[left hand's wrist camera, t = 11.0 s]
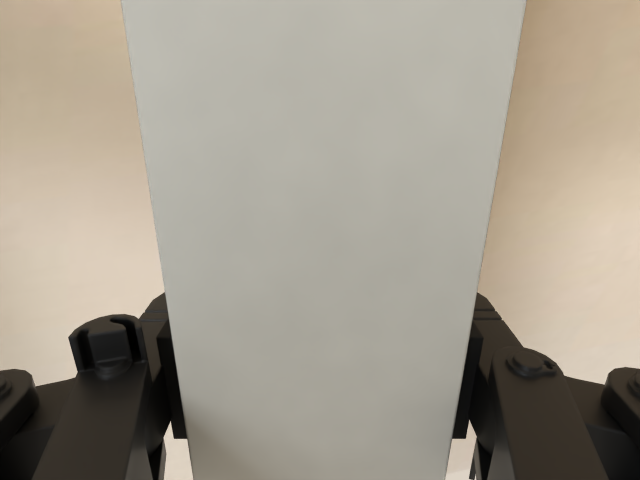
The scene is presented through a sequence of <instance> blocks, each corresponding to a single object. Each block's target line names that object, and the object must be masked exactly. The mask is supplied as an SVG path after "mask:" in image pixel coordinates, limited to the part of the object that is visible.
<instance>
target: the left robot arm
mask: <svg viewBox="0 0 640 480" xmlns="http://www.w3.org/2000/svg"><path fill="white" fill-rule="evenodd" d="M68 338H69V342H70V345H71V349H72V353H73V356H74V360H75V364H76V367H77V371H78V373H77V375H76V377H75V378H72V379H69V380H64V381H60V382H55V383H50V384H45V385H41V386H36V387H35V384H34V381H33V378H32V375H31V374H29V373H28V372H27V371H25V370H18V369H11V370H3V371H0V480H164V471H165V461H166V449H165V444H164V438H163V437H164V435H165V433H166V430H167V428H168V426H169V423H170V421H171V425H172V430H173V436H174V439H187V433H186V427H185V420H184V414H183V407H182V400H181V394H180V387H179V381H178V374H177V367H176V361H175V354H174V348H173V341H172V335H171V328H170V321H169V315H168V308H167V302H166V295H165V292H164V293H163V294H161V295H160V296H158V297H157V298H155V299H154V300H153V301H152V302H151V303H150V305H149V306H148V307H147V309H146V310H145V313H143V314H142V315H141V317H140V318H139V319H138V318H136V317H135V316H131V315H126V314H117V315H109V316H104V317H99V318H97V319H94V320H92V321H89V322H86V323H85V324H83V325H82V326H80V327H78V328H77V329H75V330H74V331H73V333H72V334H71V335H70V336H69V337H68ZM469 420H470V422H471V424H472V426H473V429H474V431H475V433H476V436H477V438H476V444H475V449H474V454H473V459H472V464H471V469H470V476H469V479H472V480H474V479H475V474H476V480H640V369H636V368H628V367H624V368H616V369H614V370H612V371H611V372H610V373H609V374H608V377H607V380H606V383H605V385H603V384H598V383H593V382H589V381H584V380H579V379H574V378H570V377H567V376H564V374H563V372H562V370H561V369H560V368H559V366H558V365H557V364H556V363H555V362H554V361H553V360H551V359H550V358H549V357H547V356H546V355H544V354H541V353H539V352H537V351H535V350H532V349H528V348H524V347H523V346H522V345H521V343H520V342H519V341H518V339H517V338H516V337H515V335H514V334H513V333H512V331H511V330H510V329H509V327H508V326H507V325H506V323H505V322H504V321H503V320H502V318H501V317H500V315H499V314H498V313H497V311H495V309H494V307H493V306H492V305H491V303H490V302H489V301H488V299H487V298H485V297H484V296H482V295H481V294H479V293H478V292H477V295H476V301H475V307H474V312H473V318H472V324H471V330H470V336H469V342H468V348H467V353H466V359H465V365H464V371H463V377H462V383H461V389H460V395H459V400H458V406H457V412H456V418H455V424H454V430H453V436H452V439H466V434H467V429H468V423H469Z"/></svg>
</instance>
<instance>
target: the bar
mask: <svg viewBox="0 0 640 480" xmlns="http://www.w3.org/2000/svg"><path fill="white" fill-rule="evenodd" d="M526 1H527V0H121V5H122V11H123V18H124V25H125V31H126V38H127V44H128V51H129V58H130V64H131V71H132V77H133V84H134V91H135V97H136V104H137V110H138V117H139V124H140V130H141V137H142V143H143V150H144V156H145V163H146V170H147V176H148V183H149V189H150V196H151V203H152V209H153V216H154V222H155V229H156V236H157V242H158V249H159V255H160V262H161V269H162V275H163V282H164V288H165V295H166V302H167V308H168V315H169V321H170V328H171V335H172V341H173V348H174V354H175V361H176V367H177V374H178V381H179V387H180V394H181V400H182V407H183V414H184V420H185V427H186V433H187V440H188V447H189V453H190V460H191V466H192V473H193V480H445V477H446V471H447V465H448V459H449V453H450V447H451V441H452V436H453V430H454V424H455V418H456V412H457V406H458V400H459V395H460V389H461V383H462V377H463V371H464V365H465V359H466V353H467V348H468V342H469V336H470V330H471V324H472V318H473V312H474V307H475V301H476V295H477V289H478V283H479V277H480V271H481V265H482V260H483V254H484V248H485V242H486V236H487V230H488V224H489V219H490V213H491V207H492V201H493V195H494V189H495V183H496V177H497V172H498V166H499V160H500V154H501V148H502V142H503V136H504V131H505V125H506V119H507V113H508V107H509V101H510V95H511V89H512V84H513V78H514V72H515V66H516V60H517V54H518V48H519V43H520V37H521V31H522V25H523V19H524V13H525V7H526Z"/></svg>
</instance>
